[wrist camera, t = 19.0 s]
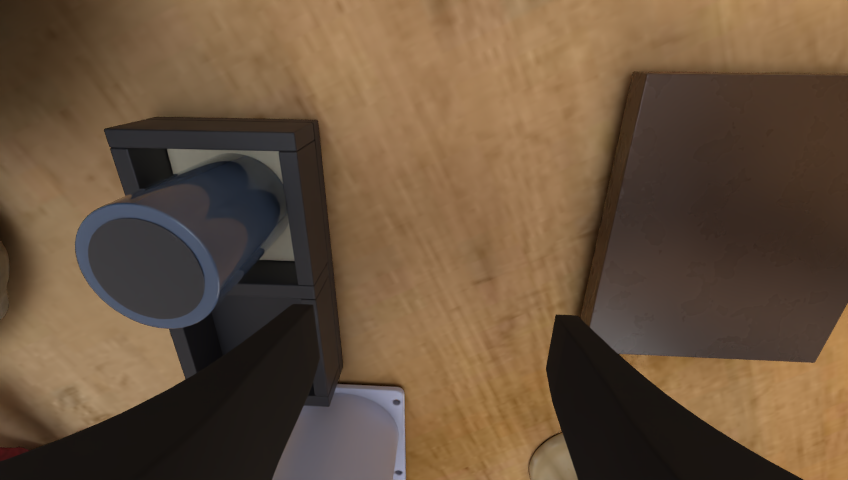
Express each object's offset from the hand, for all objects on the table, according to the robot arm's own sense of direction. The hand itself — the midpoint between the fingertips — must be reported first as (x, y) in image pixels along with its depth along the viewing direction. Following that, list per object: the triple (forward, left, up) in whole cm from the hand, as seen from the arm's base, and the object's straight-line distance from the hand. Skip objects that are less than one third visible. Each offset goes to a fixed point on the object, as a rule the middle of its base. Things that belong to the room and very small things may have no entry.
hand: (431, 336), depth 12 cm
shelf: (0, -14, -10) cm, 17 cm away
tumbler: (+1, +10, -9) cm, 13 cm away
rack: (-3, +10, -10) cm, 14 cm away
